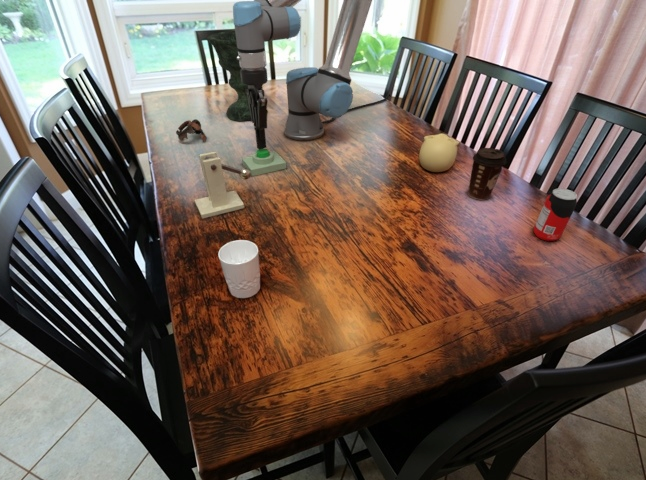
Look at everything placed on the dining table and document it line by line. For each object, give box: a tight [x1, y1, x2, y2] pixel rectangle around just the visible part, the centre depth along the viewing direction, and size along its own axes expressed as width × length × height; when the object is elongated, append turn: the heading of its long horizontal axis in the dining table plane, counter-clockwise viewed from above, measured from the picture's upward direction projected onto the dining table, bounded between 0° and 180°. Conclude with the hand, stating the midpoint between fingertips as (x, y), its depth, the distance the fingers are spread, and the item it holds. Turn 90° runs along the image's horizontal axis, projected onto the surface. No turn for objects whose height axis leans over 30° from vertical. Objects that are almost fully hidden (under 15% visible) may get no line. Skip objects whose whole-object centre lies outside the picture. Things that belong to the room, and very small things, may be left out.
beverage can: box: [533, 187, 578, 242], centre depth 92 cm, size 6×6×12 cm
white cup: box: [217, 239, 261, 299], centre depth 79 cm, size 8×8×10 cm
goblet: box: [207, 30, 268, 122], centre depth 157 cm, size 22×23×30 cm
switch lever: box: [205, 156, 252, 180], centre depth 103 cm, size 13×3×3 cm, turn 116°
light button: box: [255, 148, 270, 158], centre depth 124 cm, size 4×4×2 cm
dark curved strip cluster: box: [175, 118, 207, 143], centre depth 144 cm, size 12×10×8 cm
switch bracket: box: [194, 151, 246, 220], centre depth 104 cm, size 12×9×15 cm
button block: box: [241, 150, 287, 177], centre depth 126 cm, size 12×10×4 cm
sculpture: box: [418, 133, 460, 173], centre depth 122 cm, size 12×12×11 cm
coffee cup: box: [467, 147, 508, 201], centre depth 108 cm, size 9×8×13 cm
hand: (261, 147), depth 123 cm, fingers closed
